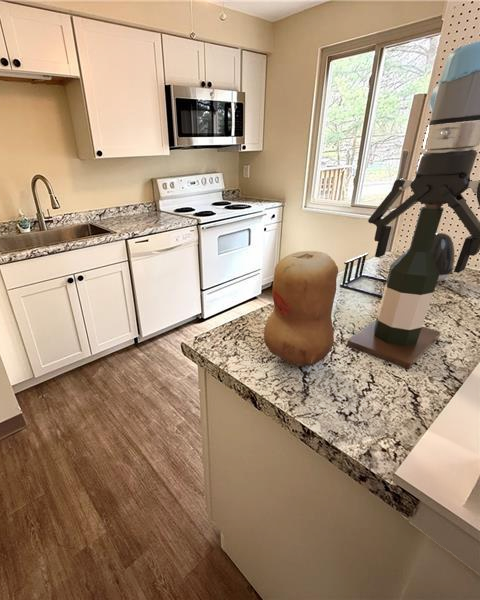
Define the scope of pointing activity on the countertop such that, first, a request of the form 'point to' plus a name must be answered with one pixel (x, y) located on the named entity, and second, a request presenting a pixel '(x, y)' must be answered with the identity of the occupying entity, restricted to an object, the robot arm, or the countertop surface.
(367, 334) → the cutting board
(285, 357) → the butternut squash
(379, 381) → the countertop surface
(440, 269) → the pump dispenser
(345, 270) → the dish rack
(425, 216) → the wine bottle
